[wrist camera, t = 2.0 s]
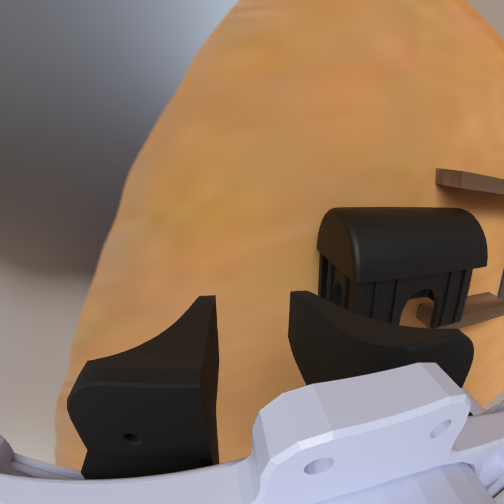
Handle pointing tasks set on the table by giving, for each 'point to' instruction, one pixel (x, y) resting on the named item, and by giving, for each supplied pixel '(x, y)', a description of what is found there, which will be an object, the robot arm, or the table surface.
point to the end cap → (399, 260)
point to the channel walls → (480, 304)
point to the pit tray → (501, 289)
